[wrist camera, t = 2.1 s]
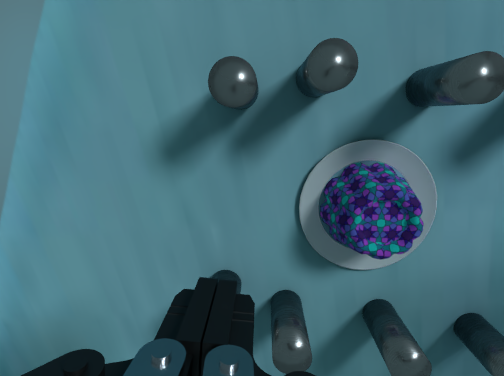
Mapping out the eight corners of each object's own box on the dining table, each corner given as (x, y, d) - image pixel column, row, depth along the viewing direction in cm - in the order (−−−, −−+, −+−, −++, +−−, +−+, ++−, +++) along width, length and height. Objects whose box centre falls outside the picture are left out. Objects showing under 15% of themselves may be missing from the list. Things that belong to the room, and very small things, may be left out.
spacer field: (561, 73, 25) (674, 57, 18) (481, 341, 31) (543, 406, 24) (225, 44, 25) (211, 18, 18) (208, 314, 31) (193, 370, 24)
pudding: (296, 265, 30) (303, 296, 25) (299, 139, 27) (307, 145, 22) (424, 266, 29) (458, 298, 24) (440, 138, 27) (482, 143, 22)
